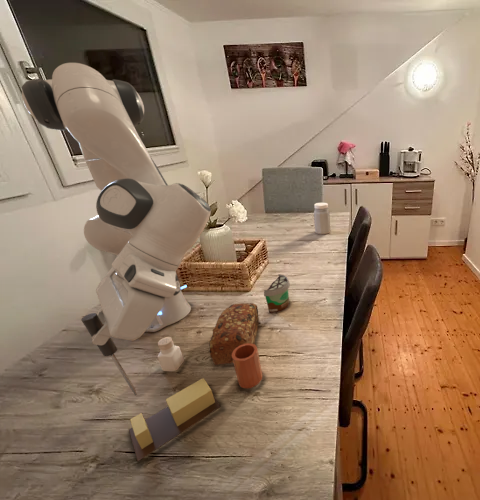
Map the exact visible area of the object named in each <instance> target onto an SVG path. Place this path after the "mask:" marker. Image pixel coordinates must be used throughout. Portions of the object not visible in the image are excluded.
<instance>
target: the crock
mask: <svg viewBox="0 0 480 500" xmlns="http://www.w3.org/2000/svg"><path fill="white" fill-rule="evenodd" d="M232 359H233V363H232V364H233V367H234V371H235V375H236V379H237V382H238V386H240V387H241V388H242V389H252V388H254V387H257V385H259V384H260V382H261V381H262V379H263V370H262V365H261V360H260V356H259V351H258V347H257V345H256V344H255V343H254V344H251V343H247V344H243V345H240V346H238V347H237V348H235V350H234V351H233V352H232Z"/></svg>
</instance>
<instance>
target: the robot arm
mask: <svg viewBox="0 0 480 500" xmlns="http://www.w3.org/2000/svg"><path fill="white" fill-rule="evenodd" d="M21 90H22V91H21V99H22V102H23V106H24V107H25V109H26V110H27V112H28V113H29V114H30V116H31V117H32V118H34V120H36V121H37V123H39V124H40V125H41V126H43V127H45V128H47V129H51V130H56V131H66V130H67V131H68V132H69V133H70V135H71V136H72V137H73V139H74V140H75V141H76V142H77V143H78V145H79V148H80V151H81V154H82V157H83V159H84V161H85V164H86V165H87V169H88V170H89V173H90V175H91V177H92V180H93V182H94V184H95V186H96V187H97V189H99V190H100V193H99V195H98V196H97V199H96V203H95V209H96V213H97V215H95V216H93V217H92V218H90V219H87V220H86V222H85V223H84V226H83V235H84V238H85V240H86V241H87V243H88V244H89V245H90V246H91V247H93V248H94V249H96V250H98V251H100V252H103V253H109V254H112V255H114V256H116V257H115V259H114V260H113V261H112V263H111V268H110V269H109V270H108V271H107V273H106V274H105V275H104V277H103V278H102V279H101V280H100V282H99V283H98V285H97V286H96V289H95V293H96V296H97V299H98V302H99V304H100V308H99V309H98V311H97V313H96V314H97V315H98V317H99V319H100V320H101V322H102V324H103V327H102V328H101V329H100V330H97V331H96V332H95V334H94V335H93V336H91V343H92V345H95V346H97V345H104V344H105V343H106V342H107V341H108V339H109V338H110V337H111V338H116V339H120V340H124V341H133V342H134V341H136V340H137V339H139V338H141V337H142V336H143V335H144V334H145V332H148V333H155V332H158V331H160V330H162V329H163V328H165V327H167V326H170V325H172V324H175V323H177V322H179V321H181V320H183V319H184V318H185V317H187V316H188V315H189V313H191V310H192V306H191V305H190V303H189V302H188V301H187V299H186V297H185V296H184V294H183V291H182V290H183V289H186V288H187V287H188V286H187V284H184V285H183V286H181V283H180V280H179V277H178V274H177V270H178V269H179V267H181V264H182V262H183V259H184V256H185V255H186V253H187V252H188V251H189V250H190V249H191V248H193V247H194V245H196V243H197V241H198V239H199V238H200V236H201V235H202V233H203V232H204V230H205V228H206V226H207V224H208V223H209V220H210V218H211V213H212V209H211V206H210V205H209V203H208V202H207V201H206V200H205V199H204V198H203V197H201V196H200V195H199V194H198V193H196V192H195V191H194V190H192V189H191V188H190V187H189V186H187V185H185V184H183V183H179V182H175V183H172V184H168V183H167V181H166V179H165V178H164V176H163V174H162V172H161V171H160V169H159V168H158V166H157V164H156V163H155V161H154V160H153V158H152V156H151V155H150V153H149V151H148V149H147V148H146V146H145V144H144V143H143V140H142V138H141V137H140V135H139V133H138V131H137V130H136V128H135V127H137V126H138V125H139V126H140V124H141V123H142V122H143V121H144V119H145V106H144V102H143V99H142V98H141V96H140V94H139V93H138V92H137V90H136V89H135V87H134V86H133V85H132V84H131V83H130V82H127V81H124V80H121V79H112V80H110V79H106V77H105V76H104V75H103V74H102V73H100V71H98V70H96V69H95V68H93V67H91V66H89V65H87V64H84V63H80V62H66V63H62V64H60V65H58V66H57V67H56V68H55V69H54V70H53V72H52V75H51V79H43V78H35V79H30V80H26V81H25V82H24V83H23V84H22V85H21Z"/></svg>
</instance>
